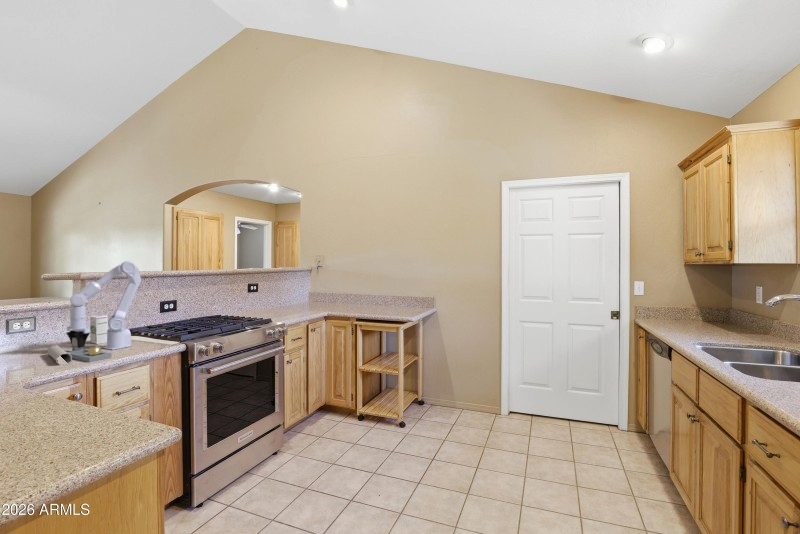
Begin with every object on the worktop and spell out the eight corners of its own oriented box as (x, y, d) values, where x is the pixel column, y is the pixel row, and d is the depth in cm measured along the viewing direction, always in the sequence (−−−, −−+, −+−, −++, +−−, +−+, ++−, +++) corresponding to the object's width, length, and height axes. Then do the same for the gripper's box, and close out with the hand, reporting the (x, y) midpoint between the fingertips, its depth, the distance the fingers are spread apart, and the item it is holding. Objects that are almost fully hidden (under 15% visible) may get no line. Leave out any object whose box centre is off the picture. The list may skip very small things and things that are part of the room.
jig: (86, 352, 187) (86, 348, 187) (111, 357, 180) (111, 353, 180) (64, 357, 179) (64, 352, 179) (89, 362, 172) (89, 357, 172)
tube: (43, 347, 181) (53, 356, 165) (58, 342, 185) (69, 350, 169) (48, 357, 183) (59, 367, 166) (63, 352, 186) (74, 361, 170)
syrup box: (108, 342, 210) (108, 315, 210) (96, 344, 205) (96, 316, 204) (102, 341, 212) (102, 314, 212) (89, 343, 207) (89, 315, 207)
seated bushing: (96, 357, 180) (96, 346, 180) (102, 358, 179) (102, 347, 179) (86, 359, 176) (86, 348, 176) (92, 360, 175) (92, 349, 175)
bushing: (80, 350, 192) (80, 336, 192) (86, 351, 190) (86, 336, 190) (70, 352, 188) (70, 337, 188) (75, 353, 186) (75, 338, 186)
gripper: (59, 318, 188) (59, 346, 188) (77, 321, 182) (77, 350, 183) (76, 316, 194) (76, 343, 195) (94, 318, 189) (94, 347, 189)
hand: (78, 346), depth 189 cm, fingers closed on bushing, 4 cm apart
